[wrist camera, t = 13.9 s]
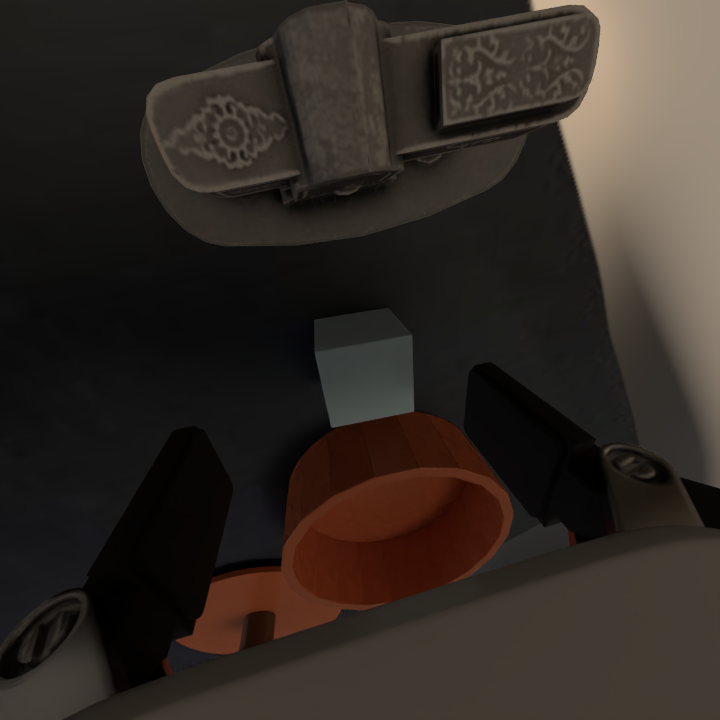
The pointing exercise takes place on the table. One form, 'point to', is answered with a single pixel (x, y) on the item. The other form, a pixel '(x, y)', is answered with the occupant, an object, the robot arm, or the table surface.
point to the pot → (390, 512)
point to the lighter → (358, 121)
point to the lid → (252, 611)
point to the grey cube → (364, 366)
